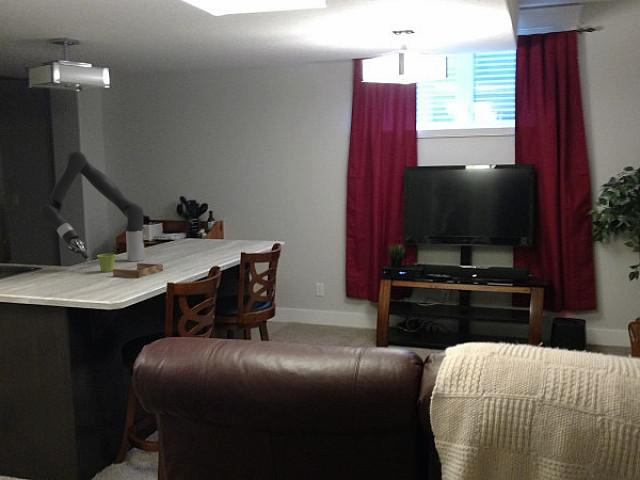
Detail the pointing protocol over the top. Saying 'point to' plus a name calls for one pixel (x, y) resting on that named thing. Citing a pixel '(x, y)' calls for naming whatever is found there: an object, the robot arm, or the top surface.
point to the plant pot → (106, 262)
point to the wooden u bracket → (139, 270)
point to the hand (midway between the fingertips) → (87, 257)
